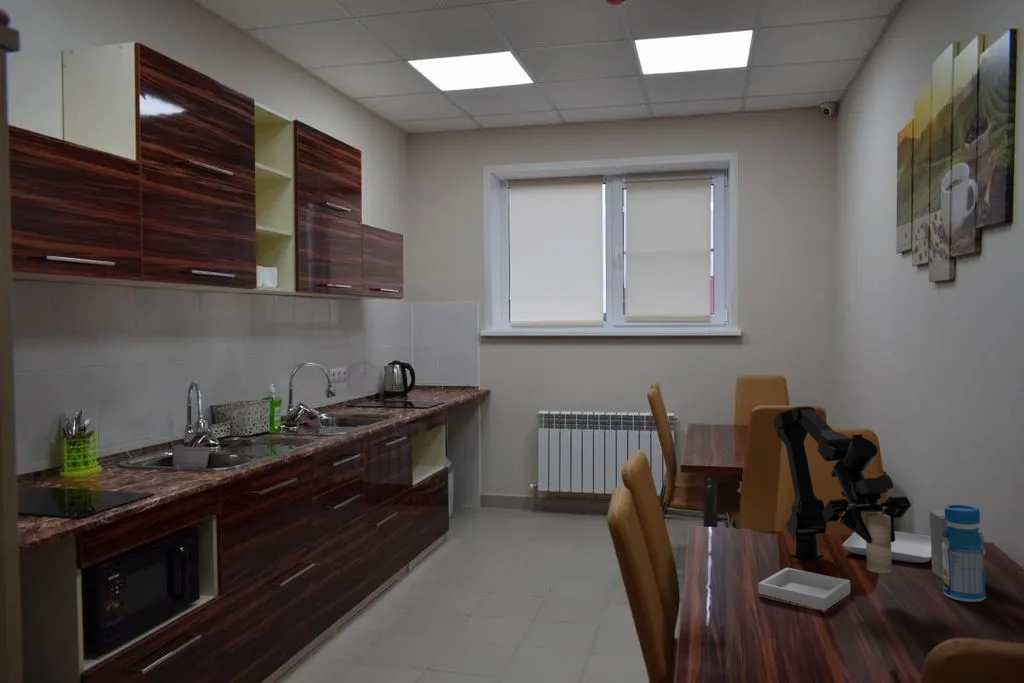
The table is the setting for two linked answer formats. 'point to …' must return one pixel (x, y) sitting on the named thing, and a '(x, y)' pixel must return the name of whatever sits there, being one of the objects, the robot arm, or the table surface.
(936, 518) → the skincare box
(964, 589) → the beverage bottle
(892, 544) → the salad plate
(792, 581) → the grey bin
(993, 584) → the table surface
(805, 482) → the robot arm
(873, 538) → the birch peg
